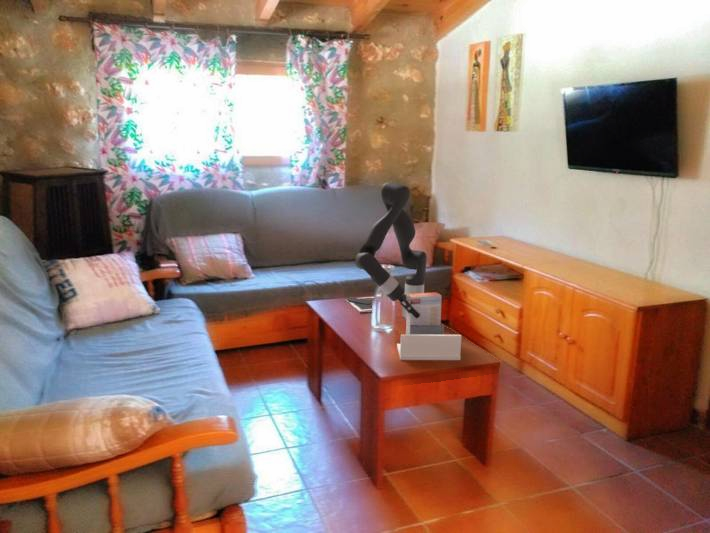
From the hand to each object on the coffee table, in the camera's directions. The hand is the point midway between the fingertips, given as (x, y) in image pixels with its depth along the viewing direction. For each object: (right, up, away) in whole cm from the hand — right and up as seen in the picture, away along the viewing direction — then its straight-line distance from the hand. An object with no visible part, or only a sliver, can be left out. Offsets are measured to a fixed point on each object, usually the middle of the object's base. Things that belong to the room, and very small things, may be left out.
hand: (417, 313), depth 251 cm
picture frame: (-21, -1, +50) cm, 54 cm away
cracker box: (+3, -12, +3) cm, 13 cm away
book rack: (+3, -15, -12) cm, 19 cm away
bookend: (+3, -13, -7) cm, 15 cm away
